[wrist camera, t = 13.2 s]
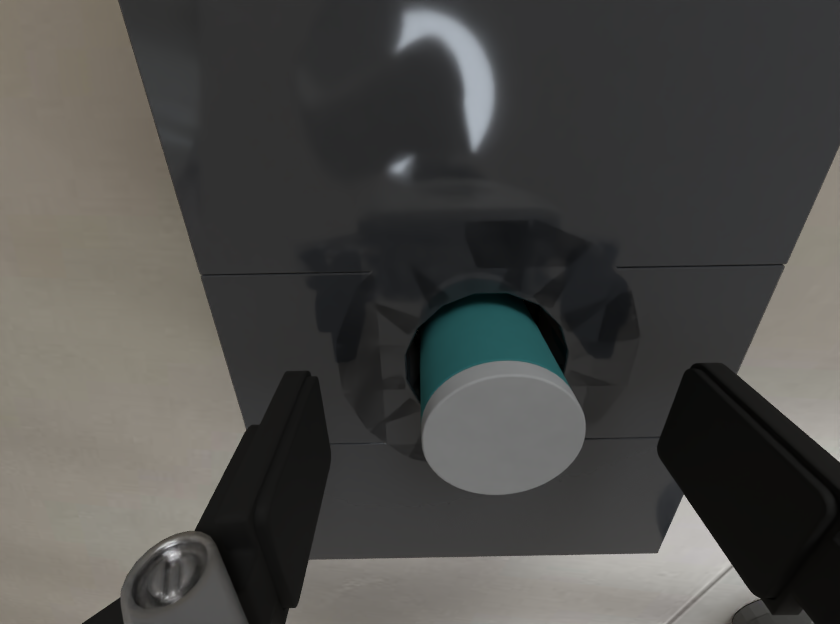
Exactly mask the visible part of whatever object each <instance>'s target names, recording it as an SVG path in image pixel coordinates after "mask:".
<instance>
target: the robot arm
mask: <svg viewBox="0 0 840 624" xmlns="http://www.w3.org/2000/svg"><path fill="white" fill-rule="evenodd" d="M657 452H658V456H659V458H660V460H661V461H662V463H663V464H664V466H665V467H666V469H667V470H668V472H669V473H670V475H671V476H672V477H673V479H674V480H675V482H676V483H677V485H678V486H679V488H680V489H681V491H682V492H683V494H684V495H685V496H686V498H687V499H688V501H689V502H690V504H691V505H692V507H693V508H694V510H695V511H696V513H697V514H698V515H699V517H700V518H701V520H702V521H703V523H704V524H705V526H706V527H707V529H708V530H709V532H710V533H711V534H712V536H713V537H714V539H715V540H716V542H717V543H718V545H719V546H720V548H721V549H722V551H723V552H724V553H725V555H726V556H727V558H728V559H729V561H730V562H731V564H732V565H733V567H734V568H735V570H736V571H737V573H738V574H739V575H740V577H741V578H742V580H743V581H744V583H745V584H746V586H747V587H748V588H749V590H750V591H751V592H752V593H753V594H754V595H755V596H757V597H759V598H761V600H762V601H763V602H764V604H765V605H766V607H767V608H768V610H769V611H770V613H771V614H772V615H799V614H800V613H801V611H802V610H804V611H805V612H806V613H807V615H808V616H809V617H810V619H811V620H812V621H811V622H812V624H840V462H839V461H837V460H836V459H835V458H834V457H833V456H832V455H830V454H829V453H828V452H827V451H826V450H825V449H823V448H822V447H821V446H820V445H819V444H817V443H816V442H815V441H814V440H813V439H812V438H810V437H809V436H808V435H807V434H806V433H805V432H803V431H802V430H801V429H800V428H799V427H798V426H796V425H795V424H794V423H793V422H792V421H790V420H789V419H788V418H787V417H786V416H785V415H783V414H782V413H781V412H780V411H779V410H778V409H776V408H775V407H774V406H773V405H772V404H771V403H769V402H768V401H767V400H766V399H765V398H763V397H762V396H761V395H760V394H759V393H758V392H756V391H755V390H754V389H753V388H752V387H751V386H749V385H748V384H747V383H746V382H745V381H744V380H742V379H741V378H740V377H739V376H738V375H736V374H735V373H734V372H733V371H732V370H731V369H729V368H728V367H727V366H726V365H724V364H723V363H695V364H693V365H692V366H691V367H690V369H687V370H686V371H685V372H684V374H683V377H682V379H681V382H680V385H679V388H678V390H677V393H676V396H675V398H674V401H673V404H672V406H671V409H670V412H669V414H668V417H667V420H666V422H665V425H664V428H663V430H662V433H661V436H660V438H659V441H658V444H657ZM330 464H331V448H330V443H329V437H328V431H327V425H326V419H325V413H324V408H323V402H322V396H321V390H320V384H319V379H318V377H317V376H311V373H310V371H286V372H285V373H284V375H283V377H282V379H281V381H280V383H279V385H278V387H277V389H276V392H275V394H274V396H273V398H272V400H271V402H270V404H269V406H268V408H267V410H266V412H265V415H264V417H263V419H262V421H261V423H260V425H251V426H249V427H248V429H247V430H246V432H245V433H244V435H243V437H242V439H241V441H240V443H239V445H238V447H237V449H236V451H235V453H234V455H233V457H232V459H231V461H230V463H229V464H228V466H227V468H226V470H225V472H224V474H223V476H222V478H221V480H220V482H219V484H218V486H217V488H216V490H215V492H214V494H213V496H212V498H211V500H210V502H209V504H208V505H207V507H206V509H205V511H204V513H203V515H202V517H201V519H200V521H199V523H198V525H197V527H196V529H195V531H187V532H182V533H178V534H175V535H172V536H170V537H168V538H166V539H164V540H162V541H160V542H159V543H157V544H156V545H155V546H153V547H152V548H150V549H149V550H148V551H147V552H146V553H145V554H144V555H143V556H142V557H141V558H140V559H139V560H138V561H137V562H136V563H135V564H134V566H133V567H132V569H131V570H130V572H129V573H128V575H127V576H126V579H125V581H124V584H123V586H122V589H121V597H120V598H119V599H117V600H116V601H114V602H113V603H111V604H110V605H108V606H107V607H106V608H104V609H103V610H101V611H100V612H98V613H97V614H95V615H94V616H92V617H91V618H89V619H88V620H87V621H85V622H84V623H82V624H285V622H286V618H287V614H288V610H289V608H296V606H297V605H298V602H299V599H300V594H301V590H302V586H303V581H304V577H305V573H306V569H307V564H308V560H309V556H310V551H311V547H312V543H313V538H314V534H315V530H316V525H317V521H318V517H319V512H320V508H321V504H322V499H323V495H324V491H325V487H326V482H327V478H328V474H329V469H330Z"/></svg>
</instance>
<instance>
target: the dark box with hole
mask: <svg viewBox="0 0 840 624" xmlns="http://www.w3.org/2000/svg"><path fill="white" fill-rule="evenodd" d="M118 2H119V5H120V8H121V12H122V15H123V18H124V22H125V25H126V28H127V32H128V35H129V38H130V42H131V45H132V48H133V52H134V55H135V58H136V62H137V65H138V68H139V72H140V75H141V78H142V82H143V85H144V89H145V92H146V95H147V99H148V102H149V105H150V109H151V112H152V115H153V119H154V122H155V125H156V129H157V132H158V135H159V139H160V142H161V145H162V149H163V152H164V155H165V159H166V162H167V165H168V169H169V172H170V175H171V179H172V182H173V186H174V189H175V192H176V196H177V199H178V202H179V206H180V209H181V212H182V216H183V219H184V222H185V226H186V229H187V232H188V236H189V239H190V242H191V246H192V249H193V252H194V256H195V259H196V262H197V266H198V269H199V272H200V274H201V279H202V283H203V286H204V289H205V293H206V296H207V299H208V303H209V306H210V309H211V313H212V316H213V319H214V323H215V326H216V329H217V333H218V336H219V340H220V343H221V346H222V350H223V353H224V356H225V360H226V363H227V366H228V370H229V373H230V376H231V380H232V383H233V386H234V390H235V393H236V396H237V400H238V403H239V406H240V410H241V413H242V416H243V420H244V423H245V426H246V430H247V429H248V427H249V426H251V425H260V423H261V421H262V419H263V417H264V415H265V412H266V410H267V408H268V406H269V404H270V402H271V400H272V398H273V396H274V394H275V392H276V389H277V387H278V385H279V383H280V381H281V379H282V377H283V375H284V373H285V372H286V371H310V373H311V376H317V377H318V379H319V384H320V390H321V396H322V402H323V408H324V413H325V419H326V425H327V431H328V437H329V443H330V448H331V464H330V469H329V474H328V478H327V482H326V487H325V491H324V495H323V499H322V504H321V508H320V512H319V517H318V521H317V525H316V530H315V534H314V538H313V543H312V547H311V551H310V556H309V560H313V559H368V558H422V557H477V556H531V555H585V554H640V553H658V551H659V549H660V546H661V544H662V542H663V540H664V537H665V535H666V533H667V531H668V528H669V526H670V524H671V522H672V519H673V517H674V515H675V513H676V511H677V508H678V506H679V504H680V502H681V499H682V497H683V495H684V494H683V492H682V491H681V489H680V488H679V486H678V485H677V483H676V482H675V480H674V479H673V477H672V476H671V475H670V473H669V472H668V470H667V469H666V467H665V466H664V464H663V463H662V461H661V460H660V458H659V456H658V452H657V444H658V441H659V438H660V436H661V433H662V430H663V428H664V425H665V422H666V420H667V417H668V414H669V412H670V409H671V406H672V404H673V401H674V398H675V396H676V393H677V390H678V388H679V385H680V382H681V379H682V377H683V374H684V372H685V371H686V370H687V369H690V367H691V366H692V365H693V364H695V363H723V364H724V365H726V366H727V367H728V368H729V369H731V370H732V371H733V372H734V373H735V374H736V375H737V373H738V371H739V368H740V366H741V364H742V362H743V360H744V357H745V355H746V353H747V351H748V348H749V346H750V344H751V342H752V339H753V337H754V335H755V333H756V330H757V328H758V326H759V324H760V321H761V319H762V317H763V315H764V313H765V310H766V308H767V306H768V304H769V301H770V299H771V297H772V295H773V292H774V290H775V288H776V286H777V283H778V281H779V279H780V277H781V274H782V272H783V270H784V265H783V264H787V262H788V260H789V258H790V256H791V253H792V251H793V249H794V247H795V244H796V242H797V240H798V238H799V236H800V233H801V231H802V229H803V227H804V224H805V222H806V220H807V218H808V215H809V213H810V211H811V209H812V206H813V204H814V202H815V200H816V198H817V195H818V193H819V191H820V189H821V186H822V184H823V182H824V180H825V177H826V175H827V173H828V171H829V168H830V166H831V164H832V162H833V160H834V157H835V155H836V153H837V151H838V148H839V146H840V0H118ZM499 293H508V294H510V295H513V296H516V297H518V298H521V299H524V300H527V301H529V302H532V303H535V304H537V305H539V306H540V307H541V310H540V317H539V324H538V329H539V331H540V332H541V334H542V336H543V338H544V340H545V342H546V343H547V345H548V347H549V349H550V351H551V353H552V355H553V356H554V358H555V360H556V362H557V364H558V366H559V367H560V369H561V371H562V373H563V375H564V377H565V379H566V380H567V382H568V384H569V386H570V388H571V390H572V392H573V393H574V395H575V397H576V399H577V401H578V402H579V404H580V406H581V408H582V411H583V413H584V417H585V422H586V433H585V439H584V442H583V445H582V448H581V450H580V452H579V454H578V455H577V457H576V458H575V459H574V461H573V462H572V463H571V464H570V465H569V466H568V468H566V469H565V470H564V471H563V472H562V473H561V474H559V475H558V476H556V477H555V478H553V479H552V480H550V481H548V482H546V483H545V484H542V485H540V486H538V487H535V488H532V489H529V490H526V491H522V492H518V493H512V494H504V495H486V494H478V493H473V492H469V491H465V490H462V489H459V488H457V487H455V486H453V485H451V484H449V483H447V482H446V481H444V480H443V479H442V478H440V477H439V476H438V475H437V474H436V473H435V472H434V471H433V470H432V468H431V467H430V465H429V464H428V462H427V460H426V458H425V456H424V453H423V450H422V443H421V390H420V352H419V351H418V349H417V347H416V345H415V343H414V341H413V338H414V336H415V334H416V332H417V330H418V328H419V327H420V326H421V325H422V324H423V323H425V322H426V321H427V320H428V319H429V318H430V317H431V316H432V315H433V314H435V313H436V312H437V311H438V310H439V309H440V308H441V307H442V306H444V305H447V304H450V303H452V302H455V301H457V300H460V299H463V298H465V297H468V296H470V295H473V294H499Z"/></svg>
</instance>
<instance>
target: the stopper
mask: <svg viewBox="0 0 840 624" xmlns="http://www.w3.org/2000/svg"><path fill="white" fill-rule="evenodd" d="M420 390H421V443H422V450H423V453H424V456H425V458H426V460H427V462H428V464H429V465H430V467H431V468H432V470H433V471H434V472H435V473H436V474H437V475H438V476H439V477H440V478H442V479H443V480H444V481H446V482H447V483H449V484H451V485H453V486H455V487H457V488H459V489H462V490H465V491H469V492H473V493H478V494H486V495H504V494H512V493H518V492H522V491H526V490H529V489H532V488H535V487H538V486H540V485H542V484H545V483H546V482H548V481H550V480H552V479H553V478H555V477H556V476H558V475H559V474H561V473H562V472H563V471H564V470H565V469H566V468H568V466H569V465H570V464H571V463H572V462H573V461H574V459H575V458H576V457H577V455H578V454H579V452H580V450H581V448H582V445H583V442H584V439H585V433H586V422H585V417H584V413H583V411H582V408H581V406H580V404H579V402H578V401H577V399H576V397H575V395H574V393H573V392H572V390H571V388H570V386H569V384H568V382H567V380H566V379H565V377H564V375H563V373H562V371H561V369H560V367H559V366H558V364H557V362H556V360H555V358H554V356H553V355H552V353H551V351H550V349H549V347H548V345H547V343H546V342H545V340H544V338H543V336H542V334H541V332H540V331H539V329H538V327H537V325H536V323H535V321H534V320H533V318H532V316H531V314H530V312H529V310H528V308H527V307H526V305H525V303H524V301H523V299H521V298H518V297H516V296H513V295H510V294H508V293H499V294H473V295H470V296H468V297H465V298H463V299H460V300H457V301H455V302H452V303H450V304H447V305H444V306H442V307H441V308H440V309H439V310H438V311H437V312H436V313H435V314H433V315H432V316H431V317H430V318H429V319H428V320H427V321H426V322H425V323H423V324H422V325H421V326H420Z"/></svg>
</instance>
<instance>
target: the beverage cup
mask: <svg viewBox="0 0 840 624" xmlns="http://www.w3.org/2000/svg"><path fill="white" fill-rule="evenodd" d="M811 621H812V620H811V619H810V617H809V616H808V615H807V613H806V612H805V611H804V610H802V611H801V613H800V614H799V615H772V614H771V613H770V611H769V610H768V608H767V607H766V605H765V604H764V602H763V601H762V600H759V601H756V602H754V603H752V604H749V605H747V606H746V607H744V608H743V609H741V610H740V611H739V612H738V613H737V614H736V615H735V616H734V619H733V624H812V622H811Z"/></svg>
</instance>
